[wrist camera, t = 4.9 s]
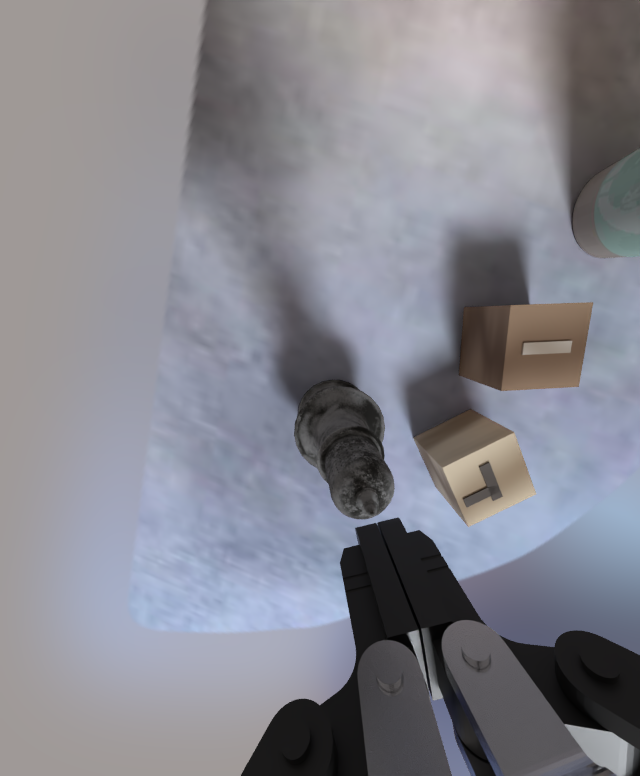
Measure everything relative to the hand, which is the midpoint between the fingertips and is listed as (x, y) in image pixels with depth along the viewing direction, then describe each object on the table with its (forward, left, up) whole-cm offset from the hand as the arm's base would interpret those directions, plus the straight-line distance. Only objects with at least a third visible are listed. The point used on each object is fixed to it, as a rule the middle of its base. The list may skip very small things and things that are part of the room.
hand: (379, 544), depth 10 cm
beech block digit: (+5, +9, -13) cm, 17 cm away
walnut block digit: (-3, +13, -13) cm, 19 cm away
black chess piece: (0, 0, -14) cm, 14 cm away
